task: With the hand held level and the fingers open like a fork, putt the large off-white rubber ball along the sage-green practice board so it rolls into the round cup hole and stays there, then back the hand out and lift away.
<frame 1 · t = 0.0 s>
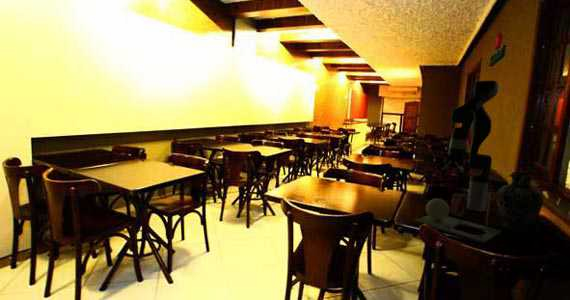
hand: (451, 179, 164), 22 cm above the table, tool pointing down, fingers open, 8 cm apart
decorative vase: (514, 227, 161), on the table
soda can: (457, 215, 176), on the table
ball: (437, 209, 164), point 6 cm above the table, touching putting board
putting board: (454, 226, 158), on the table
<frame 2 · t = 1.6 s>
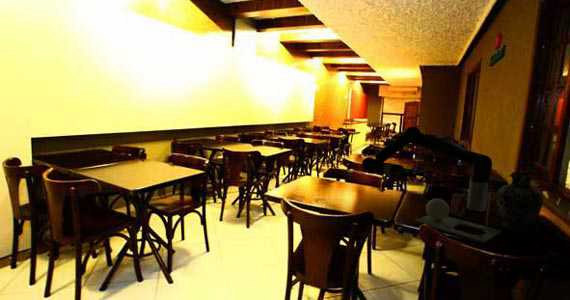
hand: (420, 175, 170), 22 cm above the table, tool horizontal, fingers open, 8 cm apart
nothing on the table moved.
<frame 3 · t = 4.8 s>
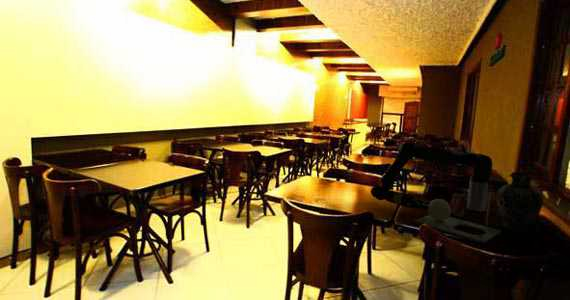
hand: (431, 206, 167), 7 cm above the table, tool horizontal, fingers open, 8 cm apart
ball: (439, 209, 164), point 6 cm above the table, tilted 8°, touching putting board
everything else where it was.
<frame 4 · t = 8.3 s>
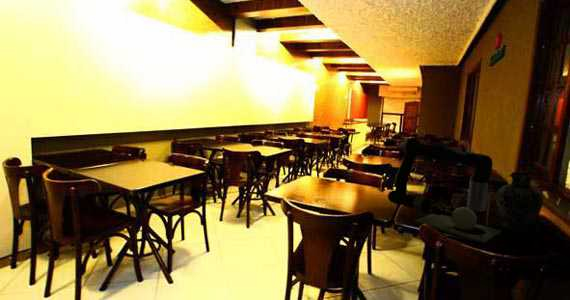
hand: (455, 213, 158), 7 cm above the table, tool horizontal, fingers open, 8 cm apart
ball: (463, 218, 154), point 5 cm above the table, tilted 138°
everything else where it was.
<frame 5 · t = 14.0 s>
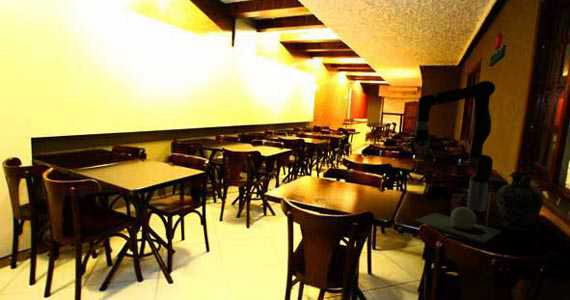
hand: (419, 155, 195), 30 cm above the table, tool pointing down, fingers open, 8 cm apart
nothing on the table moved.
at the end: ball inside the target area (3.3 cm from its centre), point 5.5 cm above the table; ball moved 12.7 cm from its start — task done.
